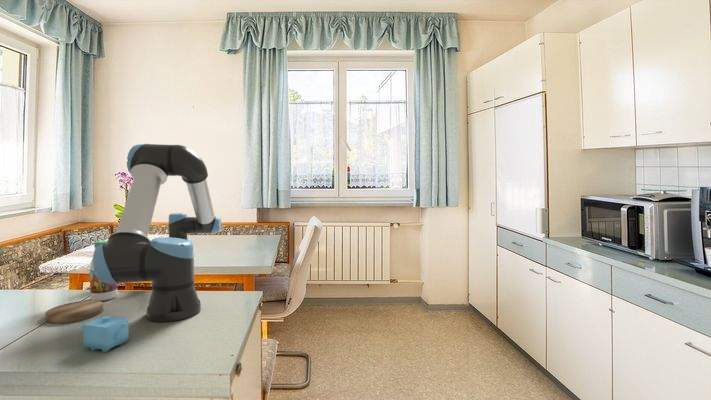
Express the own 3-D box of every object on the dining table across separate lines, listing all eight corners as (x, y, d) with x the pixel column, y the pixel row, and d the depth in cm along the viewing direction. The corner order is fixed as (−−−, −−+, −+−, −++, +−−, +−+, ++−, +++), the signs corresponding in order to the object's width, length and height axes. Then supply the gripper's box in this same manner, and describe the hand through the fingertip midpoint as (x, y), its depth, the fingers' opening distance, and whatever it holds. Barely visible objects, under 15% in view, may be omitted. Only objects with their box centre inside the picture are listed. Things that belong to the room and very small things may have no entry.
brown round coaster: (114, 309, 114) (114, 302, 114) (68, 326, 101) (67, 319, 101) (82, 304, 118) (81, 298, 118) (33, 320, 105) (33, 313, 105)
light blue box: (139, 344, 90) (138, 315, 90) (118, 355, 84) (117, 324, 84) (102, 339, 93) (101, 310, 93) (78, 349, 87) (77, 319, 87)
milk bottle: (88, 298, 124) (86, 241, 123) (114, 293, 130) (112, 239, 129) (93, 303, 119) (91, 244, 118) (120, 297, 125) (118, 241, 124)
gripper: (188, 261, 150) (149, 274, 129) (138, 258, 155) (92, 271, 134) (188, 244, 149) (149, 254, 129) (137, 241, 154) (92, 251, 134)
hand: (120, 262), depth 131 cm, fingers open, 13 cm apart
